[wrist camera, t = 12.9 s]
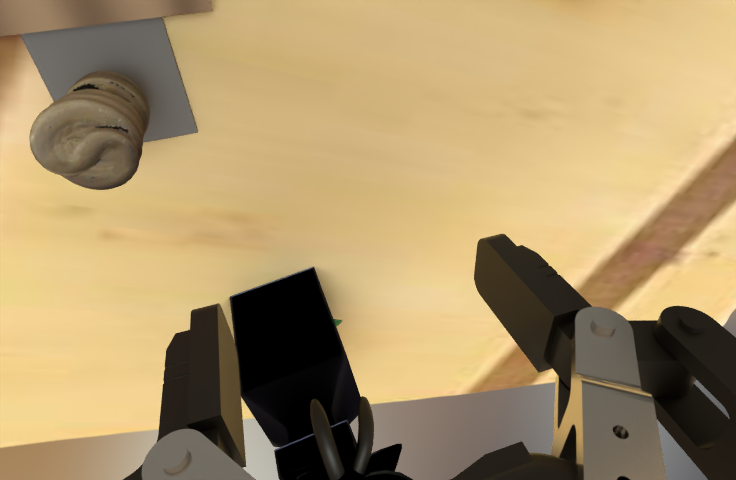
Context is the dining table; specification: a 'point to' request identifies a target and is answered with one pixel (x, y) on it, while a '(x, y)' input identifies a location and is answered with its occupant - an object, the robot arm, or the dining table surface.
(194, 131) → the mat
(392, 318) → the dining table surface
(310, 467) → the vase
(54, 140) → the tan ridged rounded piece
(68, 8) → the socket block
